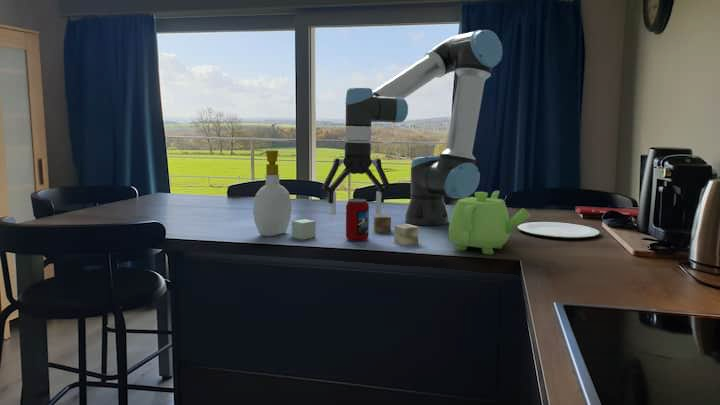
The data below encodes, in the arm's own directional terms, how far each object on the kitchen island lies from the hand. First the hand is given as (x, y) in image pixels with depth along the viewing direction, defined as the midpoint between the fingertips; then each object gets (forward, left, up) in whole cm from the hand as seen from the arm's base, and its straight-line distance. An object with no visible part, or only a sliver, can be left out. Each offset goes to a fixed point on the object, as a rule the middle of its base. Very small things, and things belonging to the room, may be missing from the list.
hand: (356, 214), depth 159 cm
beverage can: (0, 0, -8) cm, 8 cm away
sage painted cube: (+15, -7, -8) cm, 18 cm away
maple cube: (-13, +7, -8) cm, 17 cm away
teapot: (-34, +19, -8) cm, 40 cm away
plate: (-66, +3, -8) cm, 67 cm away
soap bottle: (+24, -13, -8) cm, 28 cm away
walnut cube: (-11, -11, -8) cm, 18 cm away
